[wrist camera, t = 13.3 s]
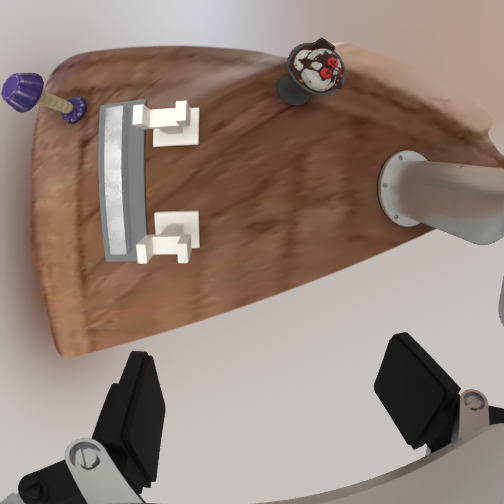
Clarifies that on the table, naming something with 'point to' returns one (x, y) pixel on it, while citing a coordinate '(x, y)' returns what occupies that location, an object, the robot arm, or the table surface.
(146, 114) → the rack
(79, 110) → the toy lamp
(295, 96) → the sundae
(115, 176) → the rail
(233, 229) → the table surface
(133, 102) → the mat
